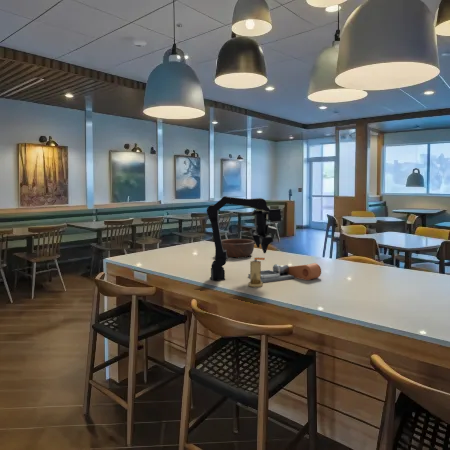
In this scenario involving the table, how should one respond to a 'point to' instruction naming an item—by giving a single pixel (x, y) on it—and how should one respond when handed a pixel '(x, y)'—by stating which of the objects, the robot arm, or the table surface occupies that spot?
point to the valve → (255, 273)
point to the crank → (305, 271)
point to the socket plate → (276, 274)
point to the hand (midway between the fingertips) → (261, 250)
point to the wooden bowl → (238, 247)
